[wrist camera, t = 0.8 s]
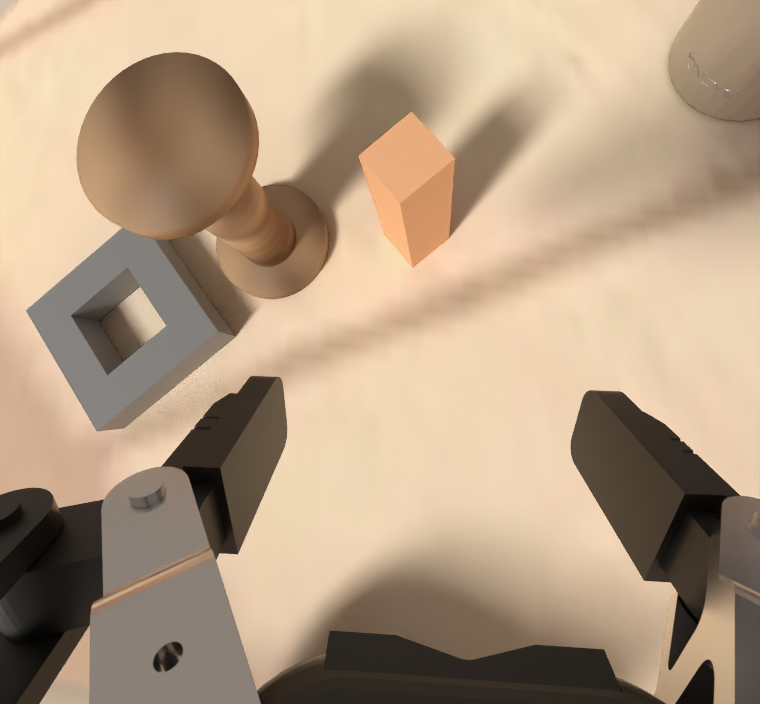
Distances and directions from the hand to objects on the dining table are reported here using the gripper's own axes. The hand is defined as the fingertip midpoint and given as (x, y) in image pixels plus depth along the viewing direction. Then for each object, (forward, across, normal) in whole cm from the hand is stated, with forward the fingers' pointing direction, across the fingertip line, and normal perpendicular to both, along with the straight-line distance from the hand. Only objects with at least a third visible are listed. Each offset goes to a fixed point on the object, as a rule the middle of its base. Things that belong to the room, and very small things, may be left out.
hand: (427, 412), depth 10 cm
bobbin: (+22, +11, -1) cm, 25 cm away
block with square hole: (+20, +22, +6) cm, 30 cm away
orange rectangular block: (+22, 0, -2) cm, 22 cm away
